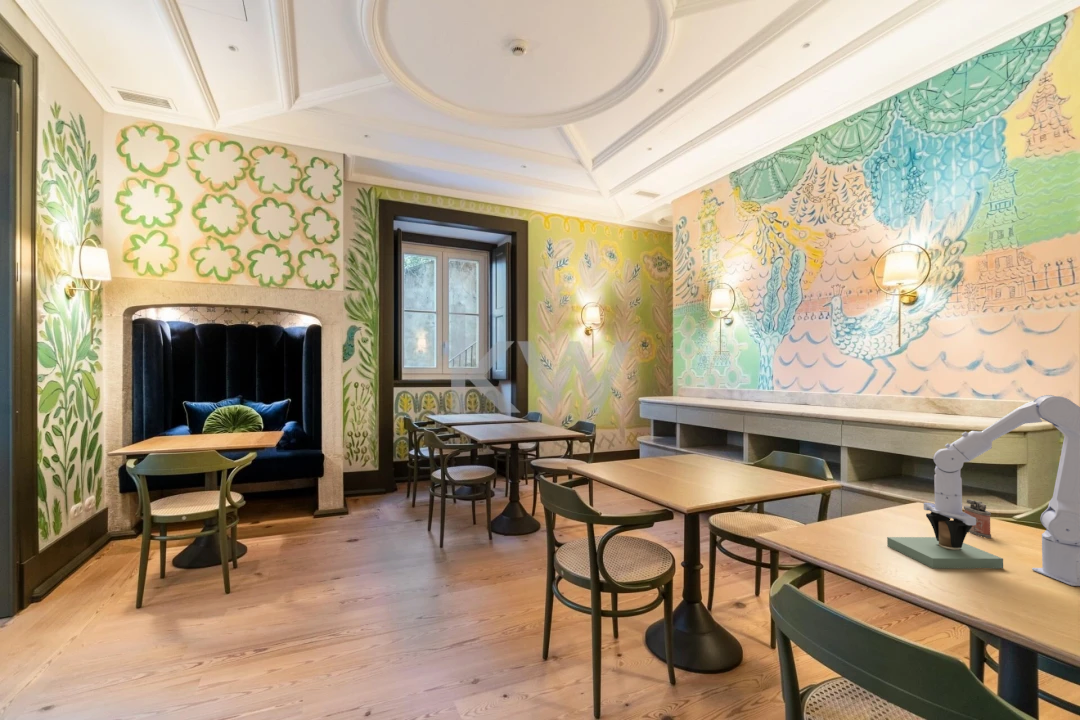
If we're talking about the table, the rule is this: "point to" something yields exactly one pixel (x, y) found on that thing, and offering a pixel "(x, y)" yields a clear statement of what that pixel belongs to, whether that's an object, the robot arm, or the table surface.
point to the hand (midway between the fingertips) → (948, 544)
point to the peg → (945, 536)
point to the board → (944, 553)
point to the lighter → (979, 518)
